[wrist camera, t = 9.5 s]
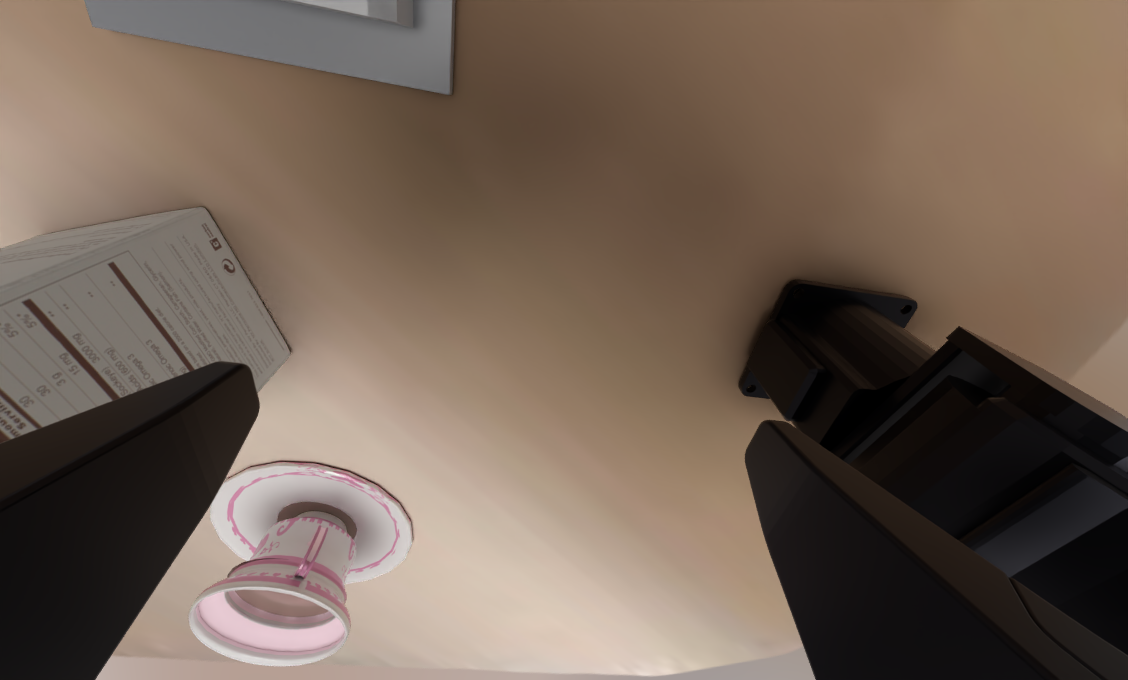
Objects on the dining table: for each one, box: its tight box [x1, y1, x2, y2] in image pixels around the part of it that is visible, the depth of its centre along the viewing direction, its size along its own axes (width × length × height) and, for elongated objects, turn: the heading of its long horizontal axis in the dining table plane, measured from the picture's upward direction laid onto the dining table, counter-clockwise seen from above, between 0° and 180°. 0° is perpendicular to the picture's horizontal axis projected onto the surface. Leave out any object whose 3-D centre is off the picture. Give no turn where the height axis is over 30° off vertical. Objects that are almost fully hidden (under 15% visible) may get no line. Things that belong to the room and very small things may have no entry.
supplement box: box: [0, 207, 291, 443], centre depth 14 cm, size 7×7×13 cm
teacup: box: [188, 462, 413, 666], centre depth 25 cm, size 12×12×6 cm
